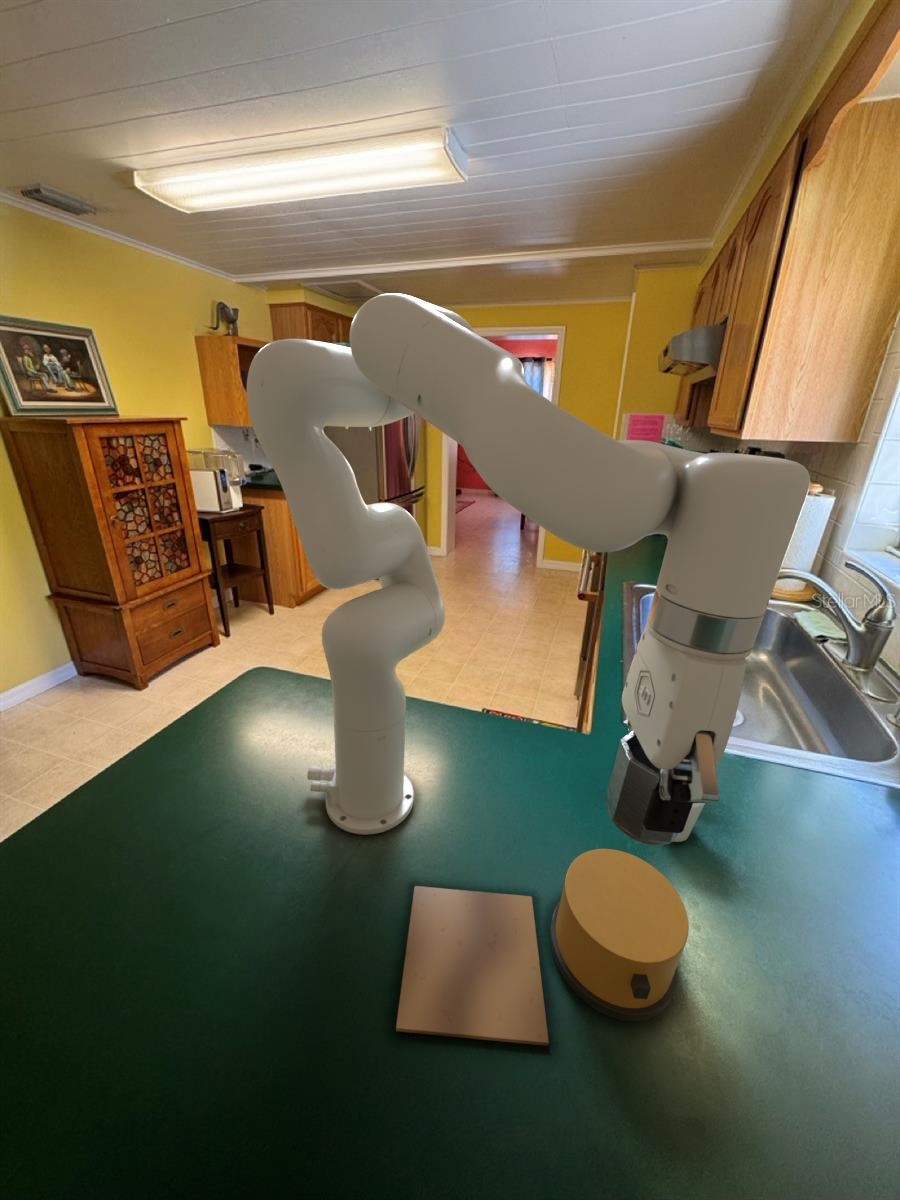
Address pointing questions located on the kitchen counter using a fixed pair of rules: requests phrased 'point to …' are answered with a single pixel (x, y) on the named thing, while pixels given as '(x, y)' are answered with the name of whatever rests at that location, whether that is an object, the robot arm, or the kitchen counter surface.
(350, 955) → the kitchen counter surface
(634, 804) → the silver cup
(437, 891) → the cork mat
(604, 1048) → the kitchen counter surface
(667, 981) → the yellow blender base
